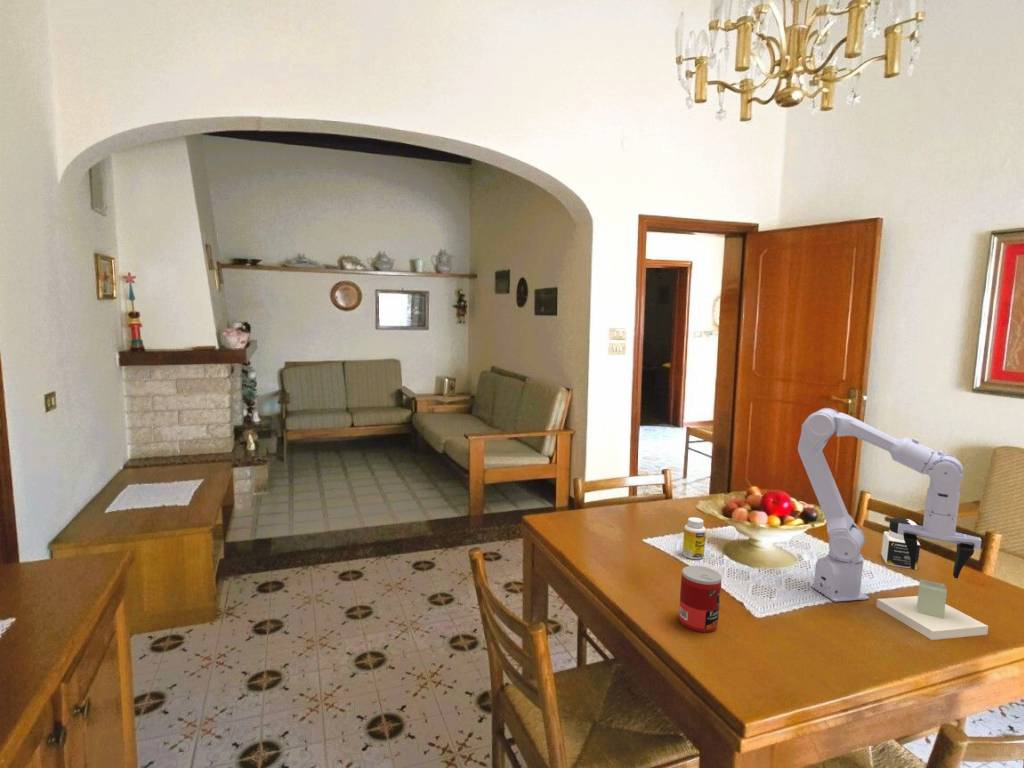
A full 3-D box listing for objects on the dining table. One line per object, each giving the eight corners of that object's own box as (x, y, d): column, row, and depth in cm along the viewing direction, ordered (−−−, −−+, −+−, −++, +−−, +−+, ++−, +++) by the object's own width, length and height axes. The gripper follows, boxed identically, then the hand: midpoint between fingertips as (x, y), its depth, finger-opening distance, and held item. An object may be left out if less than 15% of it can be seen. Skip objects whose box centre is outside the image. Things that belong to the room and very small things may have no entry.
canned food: (712, 637, 118) (717, 585, 117) (673, 625, 122) (677, 574, 121) (721, 621, 125) (725, 571, 123) (684, 610, 129) (687, 562, 128)
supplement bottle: (694, 561, 155) (697, 524, 154) (678, 554, 160) (680, 518, 159) (708, 557, 158) (711, 521, 157) (691, 550, 163) (694, 514, 162)
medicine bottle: (886, 565, 158) (891, 521, 156) (880, 555, 164) (885, 513, 163) (917, 570, 155) (922, 526, 154) (910, 560, 162) (915, 517, 160)
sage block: (943, 619, 125) (946, 592, 125) (918, 612, 128) (921, 586, 127) (941, 610, 129) (944, 584, 128) (917, 604, 131) (920, 579, 131)
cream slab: (931, 643, 120) (932, 631, 120) (876, 609, 134) (877, 599, 133) (986, 637, 123) (988, 626, 123) (927, 605, 137) (928, 595, 136)
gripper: (980, 513, 127) (972, 574, 128) (900, 500, 134) (893, 557, 136) (985, 522, 121) (977, 585, 122) (901, 508, 128) (894, 568, 130)
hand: (933, 571), depth 128 cm, fingers open, 7 cm apart
